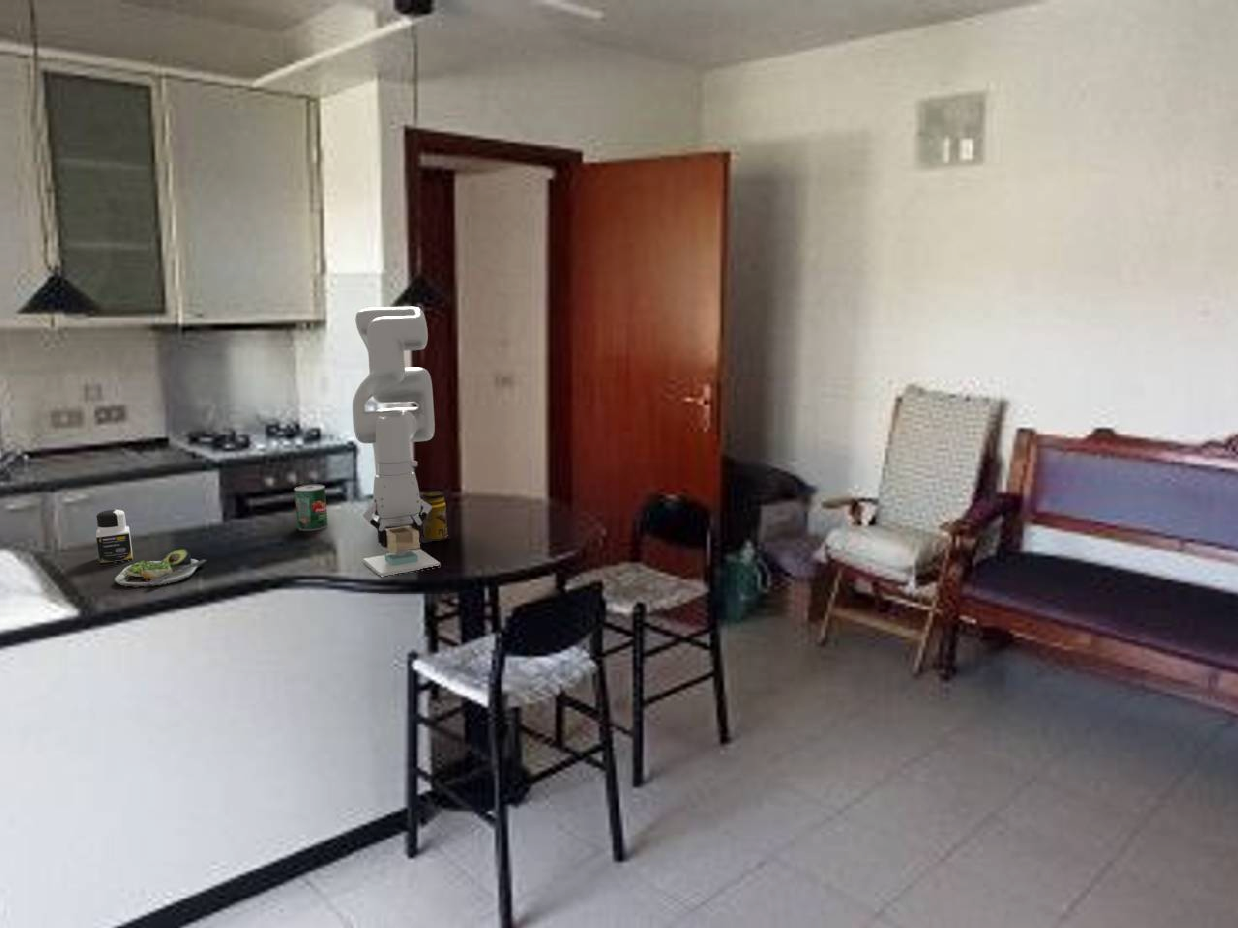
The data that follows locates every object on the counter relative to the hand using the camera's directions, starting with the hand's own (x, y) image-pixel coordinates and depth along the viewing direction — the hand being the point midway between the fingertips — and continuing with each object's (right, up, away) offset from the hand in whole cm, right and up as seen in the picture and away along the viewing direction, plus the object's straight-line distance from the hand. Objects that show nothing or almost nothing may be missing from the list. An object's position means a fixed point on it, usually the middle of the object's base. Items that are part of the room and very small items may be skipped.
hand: (400, 542), depth 219 cm
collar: (0, -1, 0) cm, 1 cm away
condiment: (+3, -1, +23) cm, 24 cm away
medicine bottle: (-72, -5, +12) cm, 73 cm away
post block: (0, -5, +1) cm, 5 cm away
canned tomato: (-33, +1, +38) cm, 50 cm away
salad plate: (-55, -8, -2) cm, 55 cm away
